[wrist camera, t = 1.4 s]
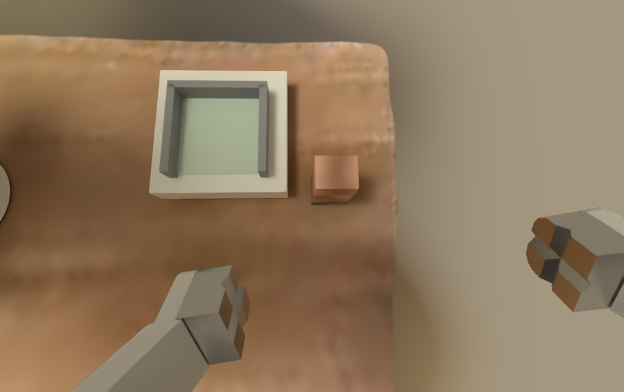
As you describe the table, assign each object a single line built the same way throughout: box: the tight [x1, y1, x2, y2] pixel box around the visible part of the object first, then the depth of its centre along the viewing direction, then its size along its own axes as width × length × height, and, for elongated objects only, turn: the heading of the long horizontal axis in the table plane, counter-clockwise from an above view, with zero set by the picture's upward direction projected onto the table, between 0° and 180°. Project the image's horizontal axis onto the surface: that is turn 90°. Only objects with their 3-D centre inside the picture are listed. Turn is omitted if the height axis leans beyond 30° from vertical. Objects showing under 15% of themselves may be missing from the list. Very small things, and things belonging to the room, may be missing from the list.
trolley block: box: [311, 155, 359, 204], centre depth 39 cm, size 5×4×10 cm
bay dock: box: [149, 70, 288, 199], centre depth 41 cm, size 18×18×7 cm
